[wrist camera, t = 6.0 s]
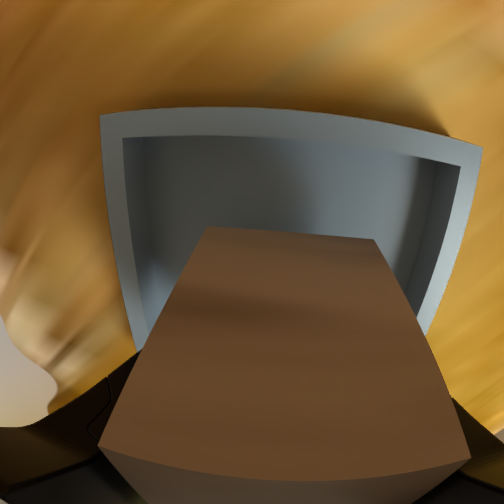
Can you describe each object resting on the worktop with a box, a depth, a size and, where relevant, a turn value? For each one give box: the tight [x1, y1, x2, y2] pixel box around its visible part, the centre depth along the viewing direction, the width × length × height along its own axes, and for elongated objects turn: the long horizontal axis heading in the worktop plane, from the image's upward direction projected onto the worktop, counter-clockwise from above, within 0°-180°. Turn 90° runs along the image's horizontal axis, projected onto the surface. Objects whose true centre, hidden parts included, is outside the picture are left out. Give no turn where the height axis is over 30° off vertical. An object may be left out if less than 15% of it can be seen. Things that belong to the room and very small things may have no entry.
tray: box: [100, 106, 483, 352], centre depth 11 cm, size 12×12×2 cm
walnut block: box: [98, 226, 471, 504], centre depth 7 cm, size 5×5×7 cm
